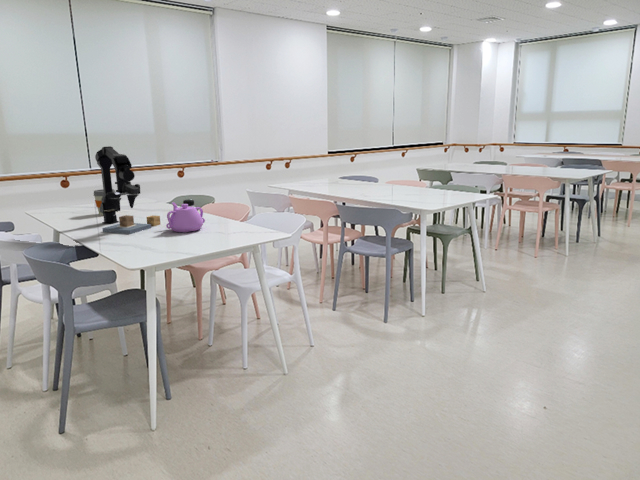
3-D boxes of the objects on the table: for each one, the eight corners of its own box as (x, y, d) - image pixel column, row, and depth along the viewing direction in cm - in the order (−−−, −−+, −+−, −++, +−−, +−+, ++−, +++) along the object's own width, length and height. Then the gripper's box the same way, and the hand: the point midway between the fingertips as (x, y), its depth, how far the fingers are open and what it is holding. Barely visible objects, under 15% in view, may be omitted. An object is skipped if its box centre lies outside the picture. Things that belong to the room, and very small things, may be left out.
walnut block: (119, 226, 259) (118, 216, 258) (126, 224, 264) (125, 215, 263) (127, 226, 258) (126, 217, 257) (134, 225, 262) (133, 215, 261)
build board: (102, 231, 257) (102, 227, 257) (124, 225, 272) (124, 221, 271) (130, 234, 251) (129, 229, 250) (151, 227, 265) (150, 223, 265)
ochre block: (147, 225, 272) (146, 216, 271) (153, 224, 276) (152, 215, 275) (154, 226, 270) (153, 217, 269) (160, 224, 275) (159, 215, 273)
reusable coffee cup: (110, 211, 319) (107, 188, 315) (121, 213, 312) (119, 189, 308) (92, 214, 309) (89, 190, 305) (103, 216, 302) (100, 192, 298)
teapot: (192, 223, 275) (190, 199, 272) (213, 229, 260) (211, 203, 257) (155, 230, 260) (152, 204, 257) (175, 236, 245) (173, 208, 242)
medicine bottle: (193, 221, 281) (191, 200, 279) (181, 221, 283) (179, 200, 280) (198, 219, 288) (196, 198, 286) (187, 218, 290) (185, 198, 287)
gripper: (121, 182, 244) (124, 213, 248) (147, 178, 261) (149, 207, 265) (104, 181, 248) (107, 212, 252) (130, 177, 265) (133, 206, 269)
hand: (125, 209), depth 259 cm, fingers open, 9 cm apart
